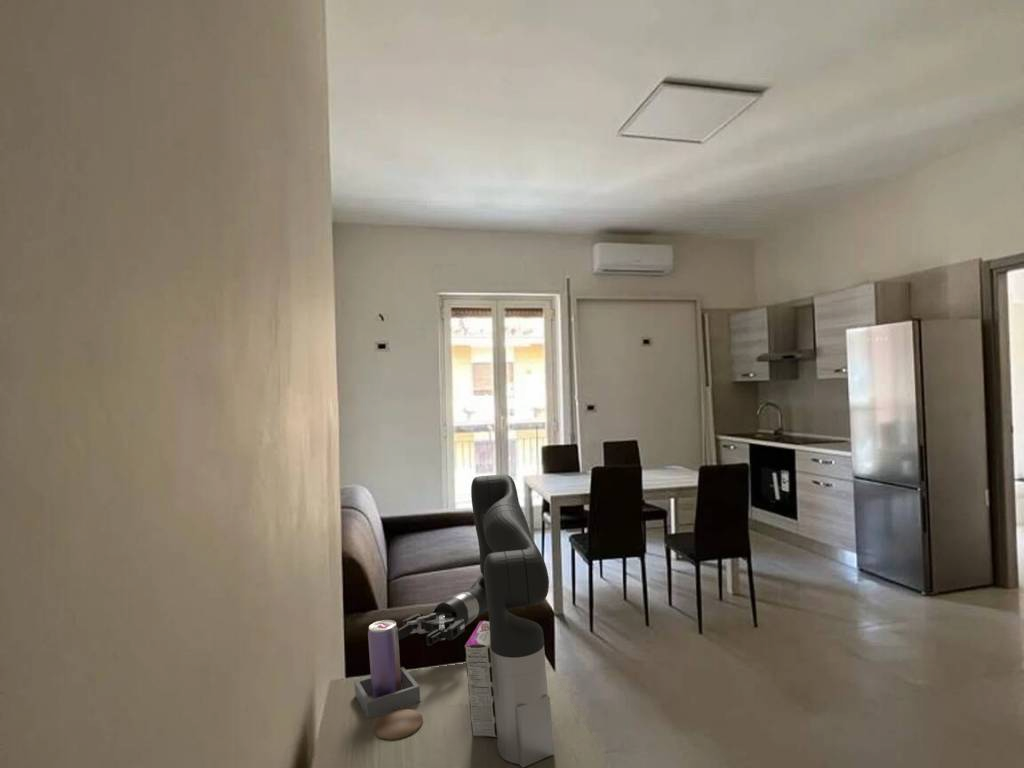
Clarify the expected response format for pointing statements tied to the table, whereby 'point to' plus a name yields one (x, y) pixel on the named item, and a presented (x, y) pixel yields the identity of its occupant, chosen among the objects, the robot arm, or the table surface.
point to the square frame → (387, 696)
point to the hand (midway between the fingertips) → (412, 638)
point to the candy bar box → (481, 682)
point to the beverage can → (384, 658)
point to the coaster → (398, 724)
